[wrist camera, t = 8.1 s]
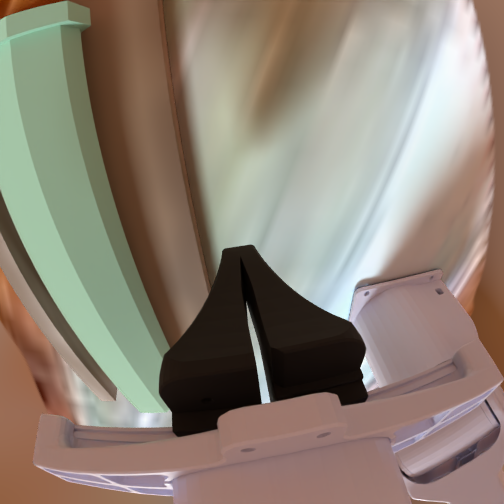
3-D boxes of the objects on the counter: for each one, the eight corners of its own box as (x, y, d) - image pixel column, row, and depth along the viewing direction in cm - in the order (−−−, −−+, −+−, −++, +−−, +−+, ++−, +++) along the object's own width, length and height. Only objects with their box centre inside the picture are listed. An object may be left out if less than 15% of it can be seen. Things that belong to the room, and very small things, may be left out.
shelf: (160, -19, 9) (147, -43, 6) (227, 355, 26) (232, 393, 22) (-20, 60, 8) (-61, 68, 5) (107, 365, 25) (101, 400, 22)
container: (180, 437, 18) (-3, 7, 3) (115, 412, 19) (-59, 76, 4) (205, 374, 23) (118, 1, 8) (144, 357, 24) (36, 45, 9)
